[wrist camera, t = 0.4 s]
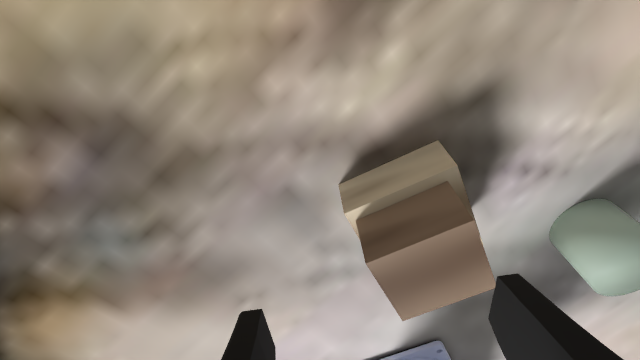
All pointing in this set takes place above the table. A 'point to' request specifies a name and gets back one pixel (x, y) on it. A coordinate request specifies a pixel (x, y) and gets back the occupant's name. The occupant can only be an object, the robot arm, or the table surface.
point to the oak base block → (401, 182)
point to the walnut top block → (425, 252)
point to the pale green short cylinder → (600, 245)
